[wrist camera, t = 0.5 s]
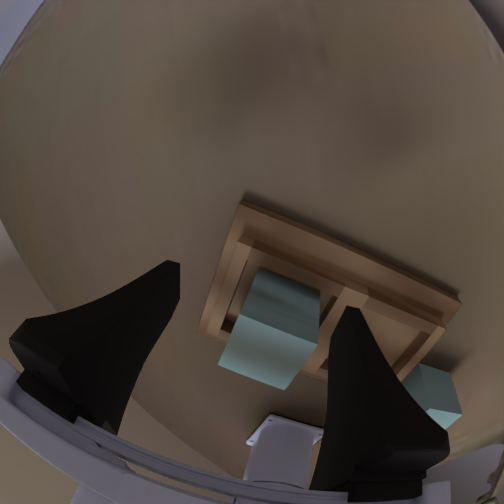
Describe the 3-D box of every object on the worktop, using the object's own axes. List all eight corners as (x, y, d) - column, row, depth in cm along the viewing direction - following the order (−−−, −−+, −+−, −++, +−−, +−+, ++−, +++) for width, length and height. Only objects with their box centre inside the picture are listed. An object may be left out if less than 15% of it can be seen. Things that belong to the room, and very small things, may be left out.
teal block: (421, 399, 26) (429, 441, 21) (390, 391, 26) (395, 436, 21) (449, 372, 24) (462, 414, 18) (418, 362, 24) (429, 408, 19)
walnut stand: (379, 389, 26) (384, 445, 20) (201, 324, 27) (170, 377, 21) (457, 296, 20) (488, 350, 14) (242, 199, 21) (209, 233, 15)
